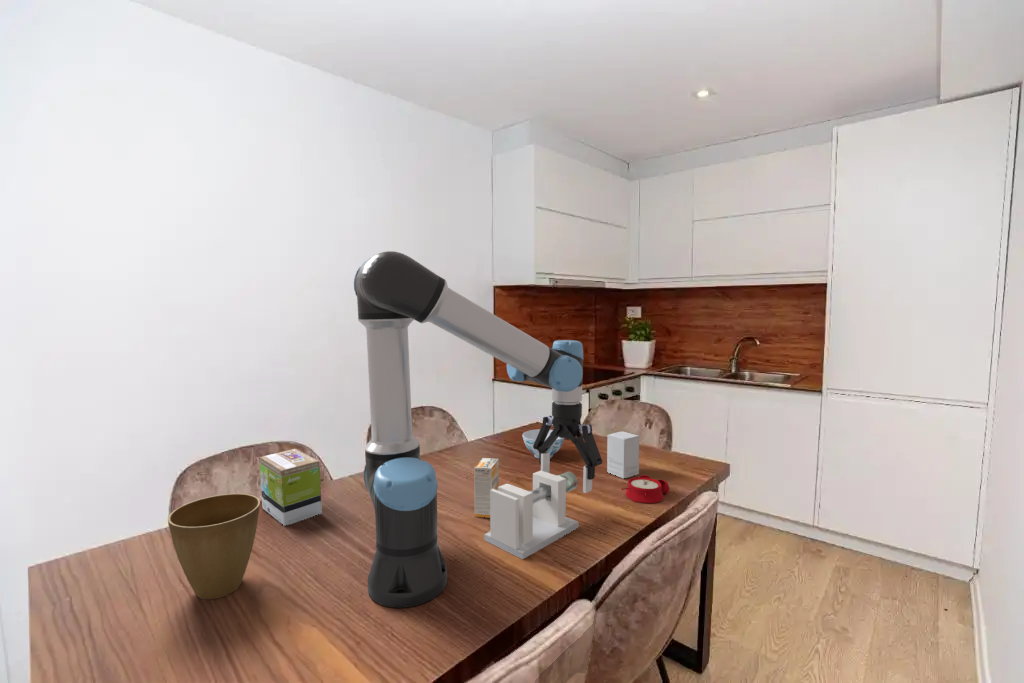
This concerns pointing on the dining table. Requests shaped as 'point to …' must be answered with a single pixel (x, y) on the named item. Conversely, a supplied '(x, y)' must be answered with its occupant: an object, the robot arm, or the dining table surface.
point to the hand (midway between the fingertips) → (565, 484)
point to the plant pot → (215, 541)
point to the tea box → (290, 486)
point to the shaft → (545, 490)
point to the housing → (528, 516)
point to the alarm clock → (646, 489)
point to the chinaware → (531, 436)
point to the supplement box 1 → (485, 485)
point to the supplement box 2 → (623, 454)
